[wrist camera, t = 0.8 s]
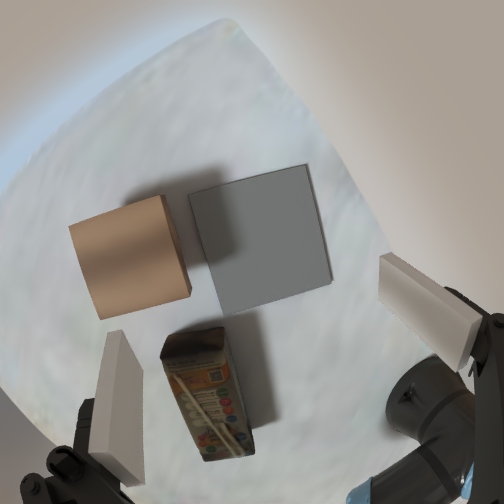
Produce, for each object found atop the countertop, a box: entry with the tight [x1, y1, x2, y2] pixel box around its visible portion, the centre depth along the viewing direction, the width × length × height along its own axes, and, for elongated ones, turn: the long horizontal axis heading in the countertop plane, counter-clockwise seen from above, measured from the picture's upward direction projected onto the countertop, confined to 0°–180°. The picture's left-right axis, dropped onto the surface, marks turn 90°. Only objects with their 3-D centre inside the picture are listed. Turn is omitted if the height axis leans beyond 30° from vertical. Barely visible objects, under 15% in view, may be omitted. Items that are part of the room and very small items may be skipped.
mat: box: [189, 165, 332, 315], centre depth 37 cm, size 15×14×1 cm
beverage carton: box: [160, 327, 255, 462], centre depth 37 cm, size 8×19×7 cm, turn 11°
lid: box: [68, 195, 192, 320], centre depth 29 cm, size 10×10×3 cm
